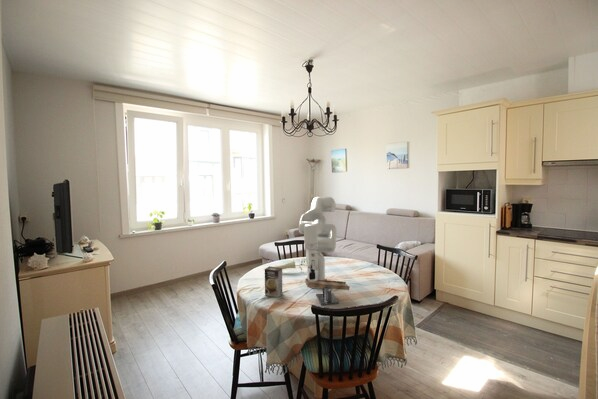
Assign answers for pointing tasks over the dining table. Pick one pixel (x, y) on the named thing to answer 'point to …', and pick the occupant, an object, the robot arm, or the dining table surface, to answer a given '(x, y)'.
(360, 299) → the dining table surface
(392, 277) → the dining table surface
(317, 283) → the beam
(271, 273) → the coffee box
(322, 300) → the pivot stand
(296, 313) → the dining table surface
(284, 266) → the flower vase
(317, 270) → the rider
